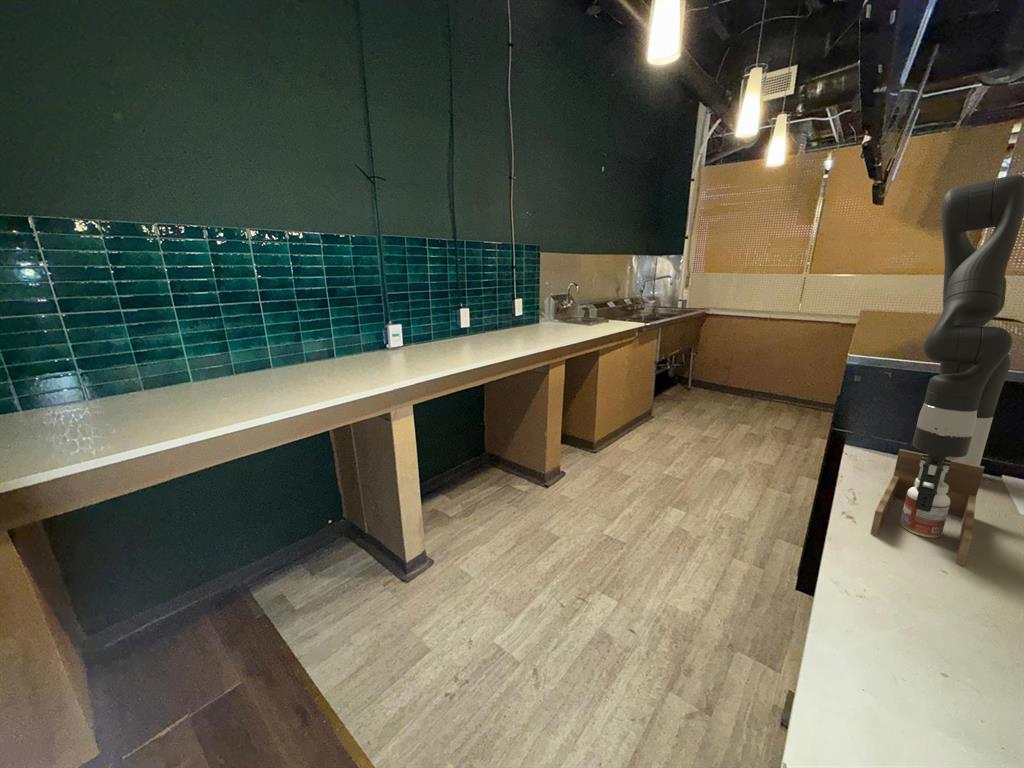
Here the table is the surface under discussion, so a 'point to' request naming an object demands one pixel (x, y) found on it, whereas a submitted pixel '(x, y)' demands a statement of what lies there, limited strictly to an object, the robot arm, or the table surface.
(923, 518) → the pill bottle
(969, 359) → the robot arm
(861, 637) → the table surface
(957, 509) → the open-sided box
